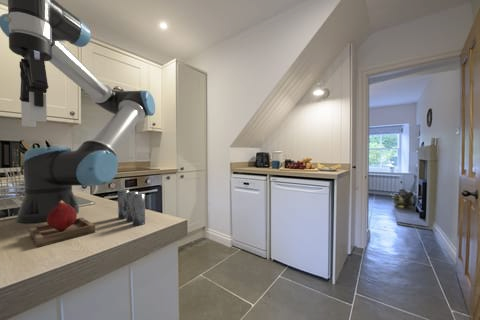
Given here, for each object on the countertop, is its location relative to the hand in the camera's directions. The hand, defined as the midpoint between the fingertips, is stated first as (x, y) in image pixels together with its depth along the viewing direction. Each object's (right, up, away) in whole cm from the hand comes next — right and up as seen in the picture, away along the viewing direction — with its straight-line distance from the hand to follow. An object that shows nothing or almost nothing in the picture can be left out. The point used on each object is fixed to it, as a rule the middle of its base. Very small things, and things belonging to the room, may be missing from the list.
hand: (33, 124), depth 51 cm
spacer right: (+22, -29, +10) cm, 37 cm away
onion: (+6, -28, +2) cm, 29 cm away
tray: (+6, -29, +2) cm, 29 cm away
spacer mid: (+18, -28, +13) cm, 36 cm away
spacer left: (+14, -28, +16) cm, 35 cm away
